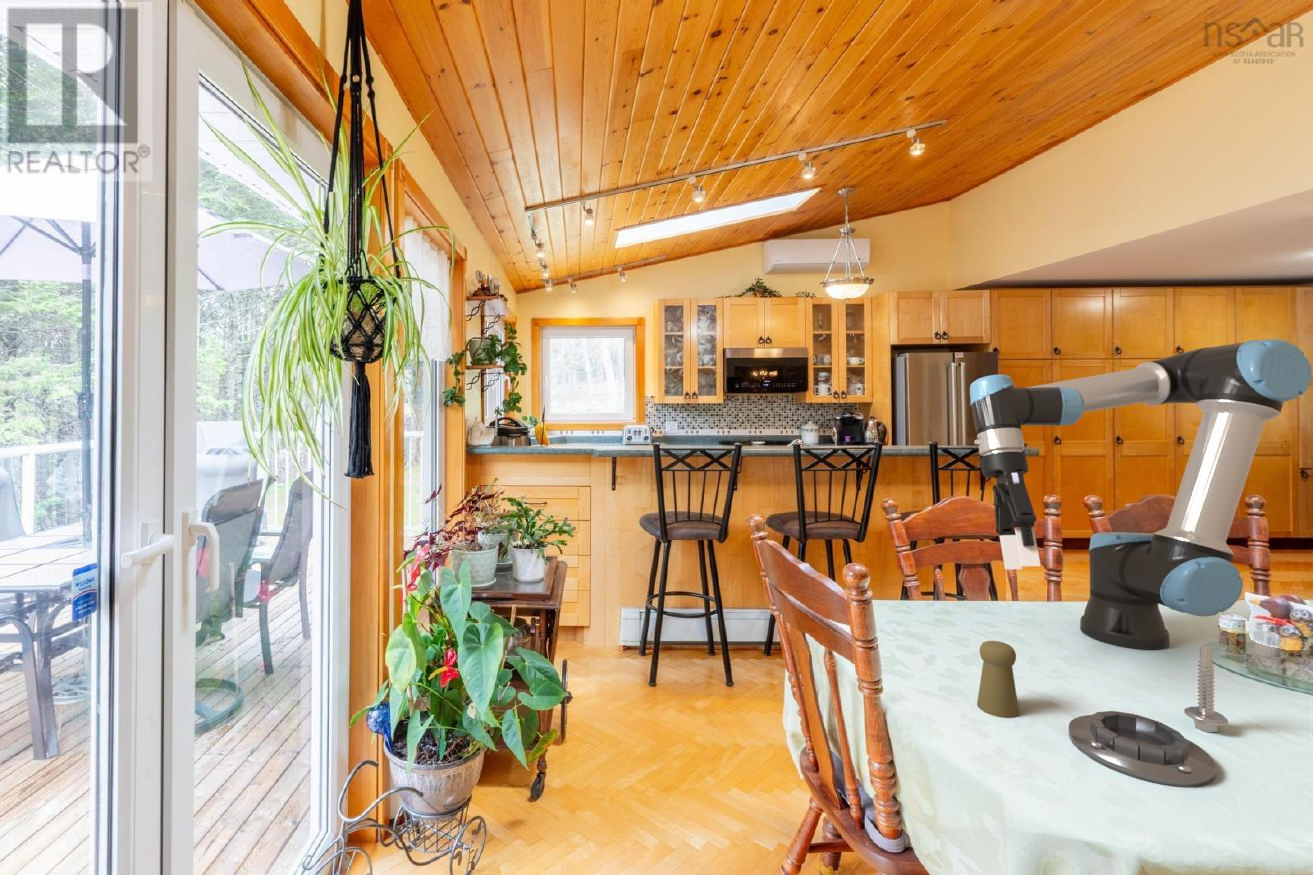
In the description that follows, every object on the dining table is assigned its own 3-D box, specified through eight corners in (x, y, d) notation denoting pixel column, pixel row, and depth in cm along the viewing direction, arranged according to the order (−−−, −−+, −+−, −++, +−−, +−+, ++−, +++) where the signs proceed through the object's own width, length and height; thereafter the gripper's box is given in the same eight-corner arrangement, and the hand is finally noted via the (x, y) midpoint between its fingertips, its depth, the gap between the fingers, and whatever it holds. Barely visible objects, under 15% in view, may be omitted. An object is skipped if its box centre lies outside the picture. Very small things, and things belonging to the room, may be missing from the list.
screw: (1185, 730, 86) (1182, 717, 90) (1230, 741, 83) (1225, 727, 87) (1186, 646, 86) (1183, 637, 90) (1231, 654, 83) (1225, 644, 87)
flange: (1134, 718, 90) (1134, 699, 90) (1250, 781, 74) (1250, 757, 74) (1042, 726, 88) (1042, 706, 88) (1140, 792, 72) (1141, 767, 72)
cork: (1019, 721, 90) (1019, 653, 89) (976, 711, 93) (975, 646, 93) (1018, 705, 95) (1018, 640, 94) (977, 696, 98) (977, 634, 98)
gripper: (970, 469, 120) (986, 570, 114) (991, 440, 98) (1012, 565, 92) (1010, 466, 117) (1028, 570, 112) (1042, 436, 95) (1067, 564, 89)
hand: (1021, 568), depth 102 cm, fingers open, 13 cm apart
